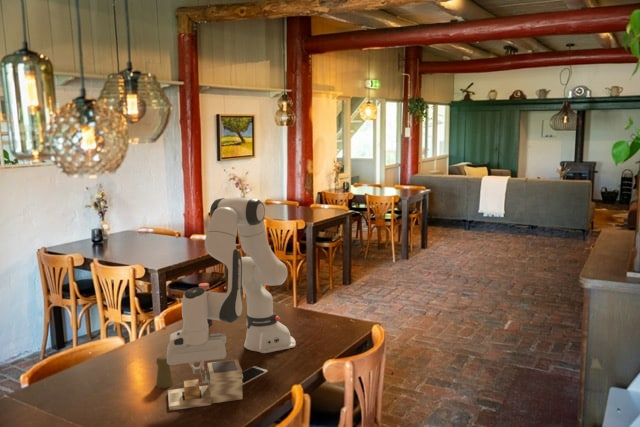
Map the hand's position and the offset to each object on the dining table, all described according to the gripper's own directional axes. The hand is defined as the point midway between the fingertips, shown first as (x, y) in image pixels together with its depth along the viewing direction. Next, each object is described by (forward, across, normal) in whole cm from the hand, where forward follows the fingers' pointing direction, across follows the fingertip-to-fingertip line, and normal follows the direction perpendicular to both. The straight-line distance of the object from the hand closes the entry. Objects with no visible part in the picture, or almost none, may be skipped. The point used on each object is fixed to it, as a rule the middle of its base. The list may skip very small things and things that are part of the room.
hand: (197, 372), depth 192 cm
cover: (+2, -8, 0) cm, 9 cm away
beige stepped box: (+9, -2, 0) cm, 10 cm away
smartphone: (+10, -20, -13) cm, 26 cm away
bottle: (+10, -9, -74) cm, 75 cm away
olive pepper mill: (+10, +11, -14) cm, 20 cm away
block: (+10, +2, 0) cm, 10 cm away
